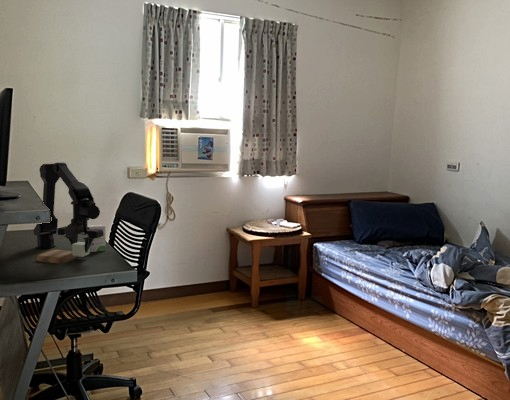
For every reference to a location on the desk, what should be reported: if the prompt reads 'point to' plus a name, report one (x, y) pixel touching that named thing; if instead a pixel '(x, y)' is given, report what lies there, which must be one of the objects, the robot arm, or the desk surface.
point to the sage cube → (79, 249)
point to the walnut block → (55, 256)
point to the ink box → (97, 239)
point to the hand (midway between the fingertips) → (80, 251)
